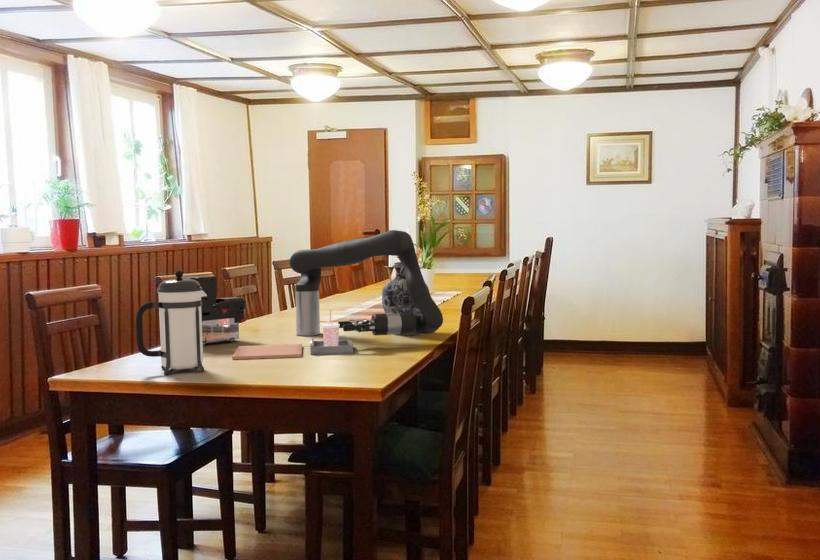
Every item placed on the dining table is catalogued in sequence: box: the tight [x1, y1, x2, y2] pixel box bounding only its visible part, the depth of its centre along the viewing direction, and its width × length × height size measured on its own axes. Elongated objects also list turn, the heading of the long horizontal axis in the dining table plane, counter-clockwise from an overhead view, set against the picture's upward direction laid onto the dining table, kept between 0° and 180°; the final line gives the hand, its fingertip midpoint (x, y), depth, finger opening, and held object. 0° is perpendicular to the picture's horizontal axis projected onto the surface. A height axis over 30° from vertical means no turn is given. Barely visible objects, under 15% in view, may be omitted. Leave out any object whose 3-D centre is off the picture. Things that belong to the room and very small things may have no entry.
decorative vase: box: [381, 261, 430, 337], centre depth 302 cm, size 21×19×28 cm
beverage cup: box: [321, 309, 340, 346], centre depth 264 cm, size 6×6×14 cm
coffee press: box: [135, 270, 207, 376], centre depth 231 cm, size 17×16×30 cm
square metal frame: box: [309, 337, 354, 356], centre depth 265 cm, size 14×14×4 cm
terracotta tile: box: [231, 343, 303, 360], centre depth 262 cm, size 22×22×1 cm
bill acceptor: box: [181, 275, 246, 347], centre depth 286 cm, size 10×23×25 cm, turn 129°
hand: (340, 326), depth 265 cm, fingers open, 8 cm apart
